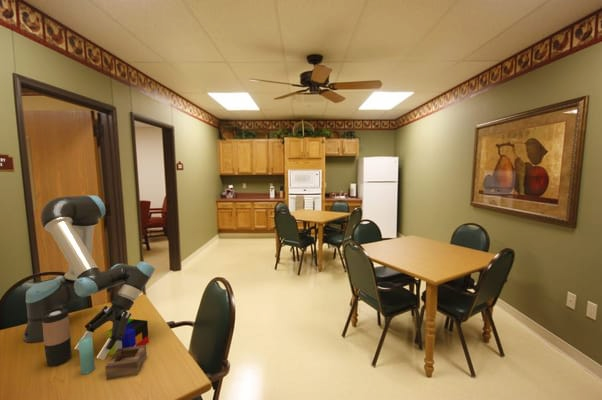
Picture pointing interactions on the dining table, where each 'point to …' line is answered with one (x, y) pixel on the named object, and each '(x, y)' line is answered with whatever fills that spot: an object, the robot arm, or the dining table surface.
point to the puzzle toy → (131, 335)
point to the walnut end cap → (126, 362)
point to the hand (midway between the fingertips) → (88, 354)
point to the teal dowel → (86, 355)
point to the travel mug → (56, 336)
